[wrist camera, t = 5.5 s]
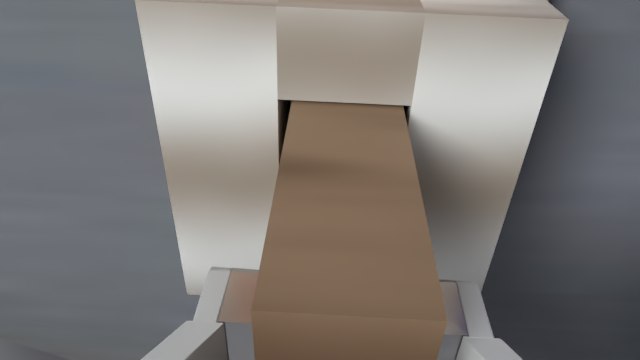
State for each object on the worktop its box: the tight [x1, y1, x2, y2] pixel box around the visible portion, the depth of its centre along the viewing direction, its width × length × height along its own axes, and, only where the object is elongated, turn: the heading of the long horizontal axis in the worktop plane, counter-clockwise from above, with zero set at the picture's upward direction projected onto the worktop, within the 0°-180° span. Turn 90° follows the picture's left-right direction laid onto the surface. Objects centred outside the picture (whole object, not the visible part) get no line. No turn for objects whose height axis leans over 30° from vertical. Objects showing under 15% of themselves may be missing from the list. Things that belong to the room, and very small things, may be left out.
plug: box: [251, 100, 448, 360], centre depth 13 cm, size 5×3×9 cm, turn 178°
